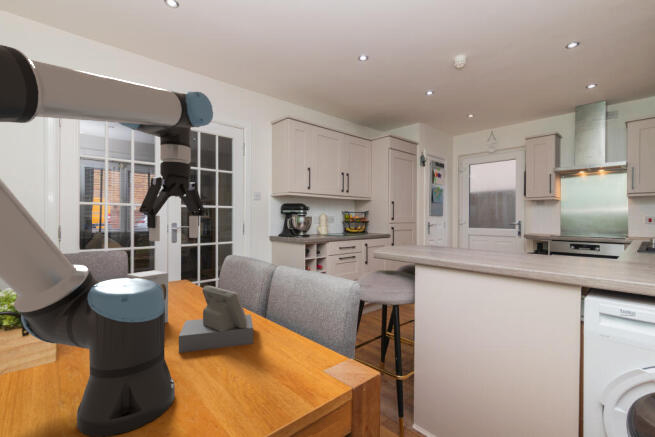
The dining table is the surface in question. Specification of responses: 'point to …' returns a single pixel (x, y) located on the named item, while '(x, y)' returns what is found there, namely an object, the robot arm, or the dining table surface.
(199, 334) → the charcoal block
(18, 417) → the dining table surface
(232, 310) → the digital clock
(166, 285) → the supplement box
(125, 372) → the robot arm
